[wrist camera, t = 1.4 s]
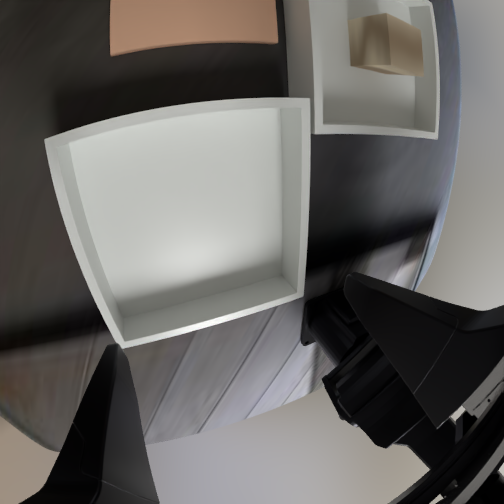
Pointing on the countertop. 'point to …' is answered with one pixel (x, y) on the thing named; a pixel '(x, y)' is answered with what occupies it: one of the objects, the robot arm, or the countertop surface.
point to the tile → (189, 23)
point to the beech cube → (385, 45)
